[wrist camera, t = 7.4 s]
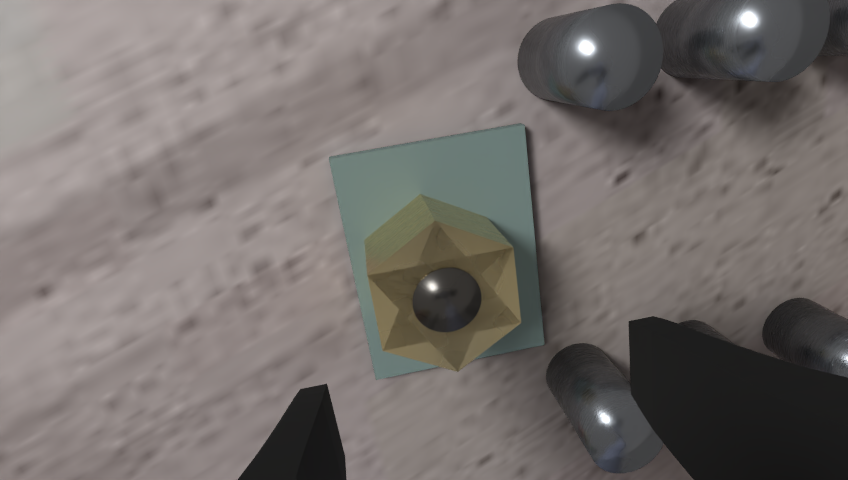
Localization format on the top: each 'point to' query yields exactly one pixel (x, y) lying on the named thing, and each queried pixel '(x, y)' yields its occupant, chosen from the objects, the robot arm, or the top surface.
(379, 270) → the brass nut
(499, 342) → the green mat
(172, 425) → the top surface
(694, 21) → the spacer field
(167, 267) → the top surface
